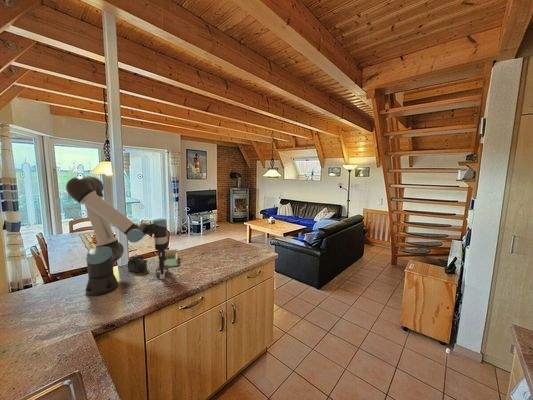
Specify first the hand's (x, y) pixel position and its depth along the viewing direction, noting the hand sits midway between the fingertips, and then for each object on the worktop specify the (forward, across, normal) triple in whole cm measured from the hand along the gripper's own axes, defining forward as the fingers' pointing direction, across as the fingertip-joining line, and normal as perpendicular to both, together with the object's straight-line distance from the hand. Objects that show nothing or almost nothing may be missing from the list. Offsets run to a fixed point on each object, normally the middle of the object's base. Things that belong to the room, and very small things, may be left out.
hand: (163, 274), depth 153 cm
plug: (0, 0, 0) cm, 0 cm away
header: (0, +21, -3) cm, 21 cm away
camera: (0, +14, +16) cm, 22 cm away
